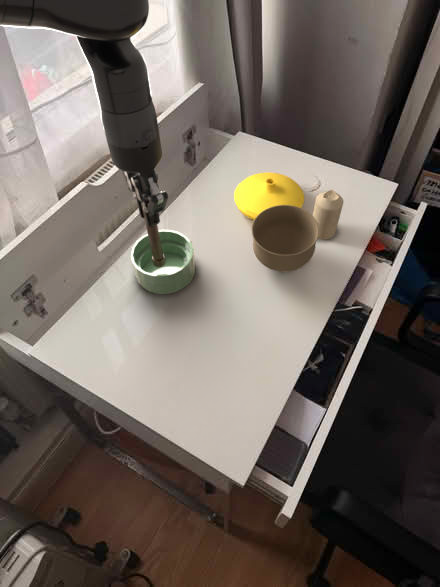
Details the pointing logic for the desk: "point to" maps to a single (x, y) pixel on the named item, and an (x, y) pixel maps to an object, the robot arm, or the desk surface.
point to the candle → (327, 213)
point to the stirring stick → (155, 244)
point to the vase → (267, 193)
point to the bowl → (284, 237)
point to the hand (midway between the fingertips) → (150, 219)
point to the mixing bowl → (175, 269)
